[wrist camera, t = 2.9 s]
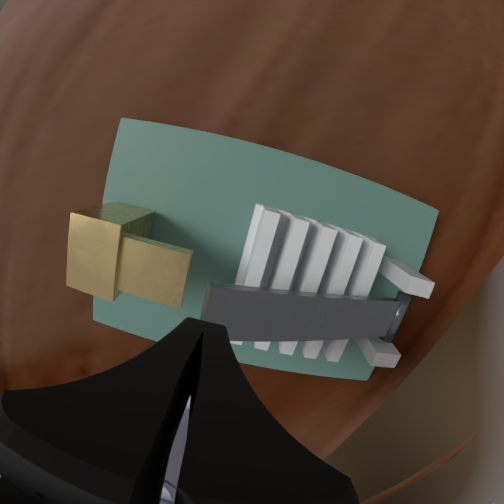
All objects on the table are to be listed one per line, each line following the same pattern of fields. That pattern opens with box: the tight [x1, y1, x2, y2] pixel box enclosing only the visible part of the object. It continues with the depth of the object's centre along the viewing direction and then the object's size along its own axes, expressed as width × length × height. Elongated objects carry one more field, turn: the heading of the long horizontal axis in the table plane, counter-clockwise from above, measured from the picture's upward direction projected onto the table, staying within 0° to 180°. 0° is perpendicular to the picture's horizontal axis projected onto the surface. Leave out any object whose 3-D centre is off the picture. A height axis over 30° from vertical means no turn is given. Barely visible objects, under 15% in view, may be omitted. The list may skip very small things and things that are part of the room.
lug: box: [67, 202, 194, 308], centre depth 15 cm, size 4×6×5 cm, turn 75°
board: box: [93, 118, 439, 380], centre depth 17 cm, size 15×23×6 cm, turn 75°
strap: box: [200, 282, 412, 343], centre depth 14 cm, size 3×12×1 cm, turn 75°
